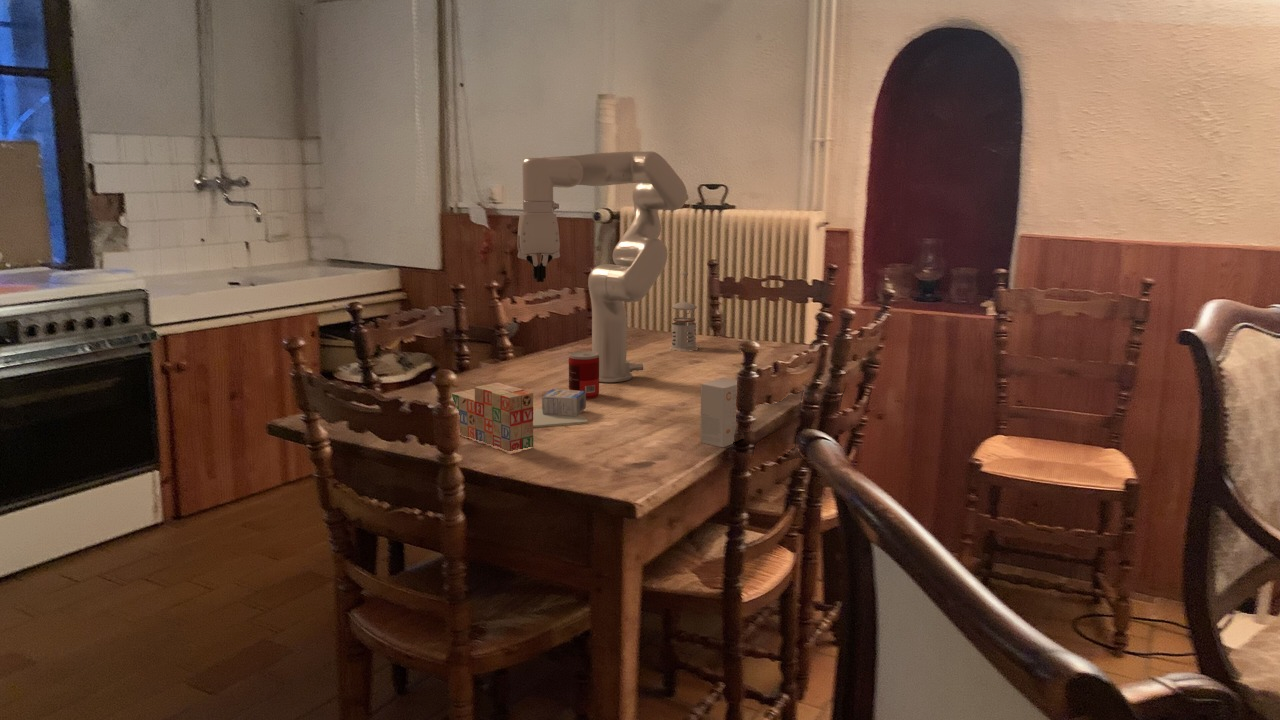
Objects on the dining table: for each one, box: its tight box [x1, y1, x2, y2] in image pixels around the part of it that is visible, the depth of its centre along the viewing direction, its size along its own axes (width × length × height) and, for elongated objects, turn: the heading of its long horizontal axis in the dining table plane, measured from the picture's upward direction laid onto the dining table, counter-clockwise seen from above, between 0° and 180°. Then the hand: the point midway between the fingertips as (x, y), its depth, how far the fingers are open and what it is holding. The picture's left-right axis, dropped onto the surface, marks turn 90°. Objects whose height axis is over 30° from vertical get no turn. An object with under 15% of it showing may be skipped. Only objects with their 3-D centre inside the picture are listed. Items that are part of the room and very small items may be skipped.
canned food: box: [568, 350, 600, 400], centre depth 242 cm, size 8×8×11 cm
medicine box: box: [541, 388, 587, 416], centre depth 225 cm, size 8×4×9 cm
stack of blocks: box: [451, 382, 534, 451], centre depth 201 cm, size 21×6×12 cm, turn 45°
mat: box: [533, 408, 589, 428], centre depth 220 cm, size 18×14×1 cm
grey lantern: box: [669, 271, 699, 352], centre depth 305 cm, size 10×12×25 cm
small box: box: [699, 377, 738, 448], centre depth 202 cm, size 8×6×13 cm
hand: (539, 281), depth 239 cm, fingers closed
